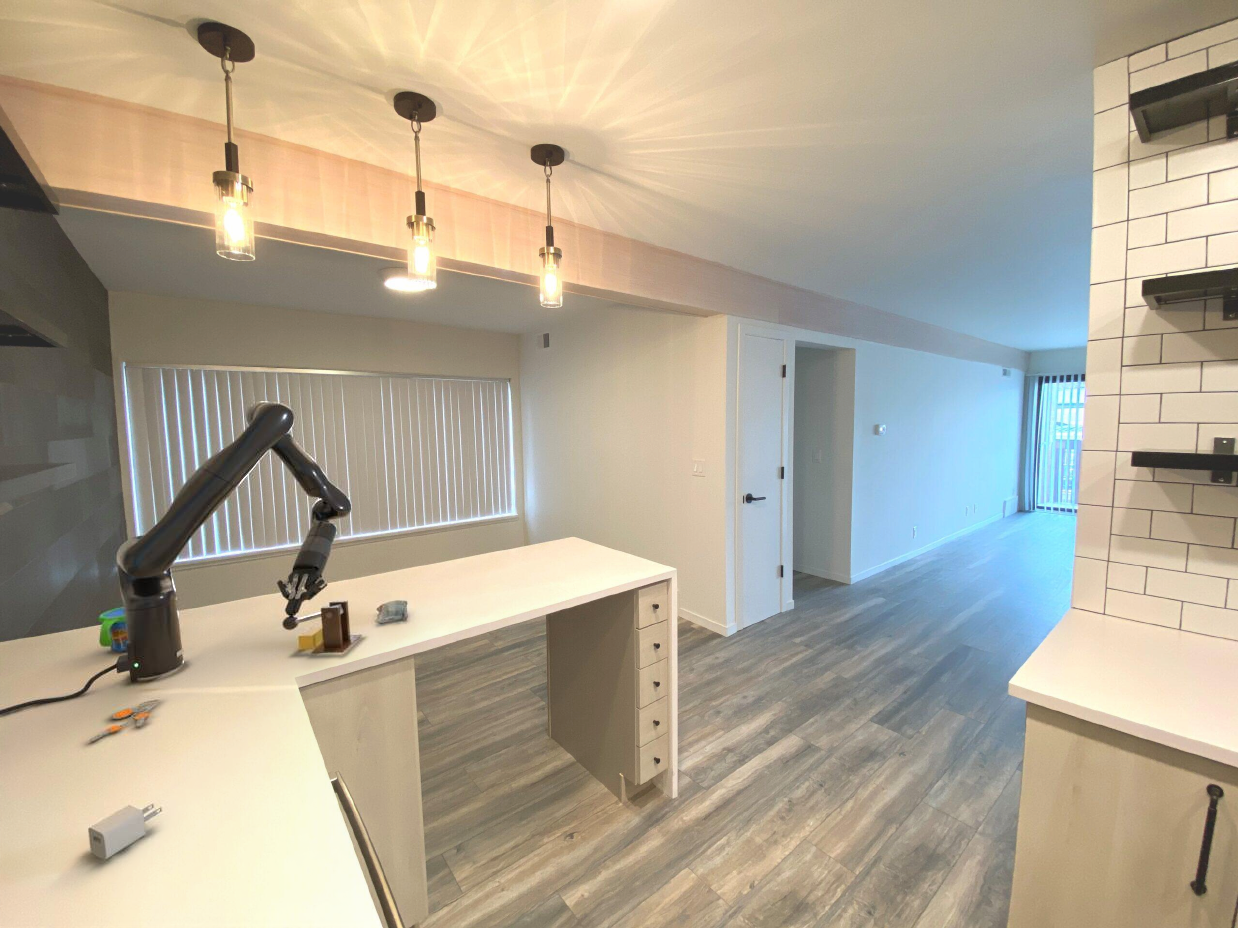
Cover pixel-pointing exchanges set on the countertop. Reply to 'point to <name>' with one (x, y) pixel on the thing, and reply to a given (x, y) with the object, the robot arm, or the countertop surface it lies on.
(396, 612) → the packaged food
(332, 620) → the brown lever base bracket
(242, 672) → the countertop surface
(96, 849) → the usb wall charger
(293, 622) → the ball-knob lever
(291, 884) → the countertop surface
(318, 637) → the butter
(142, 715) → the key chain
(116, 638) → the snack cup
